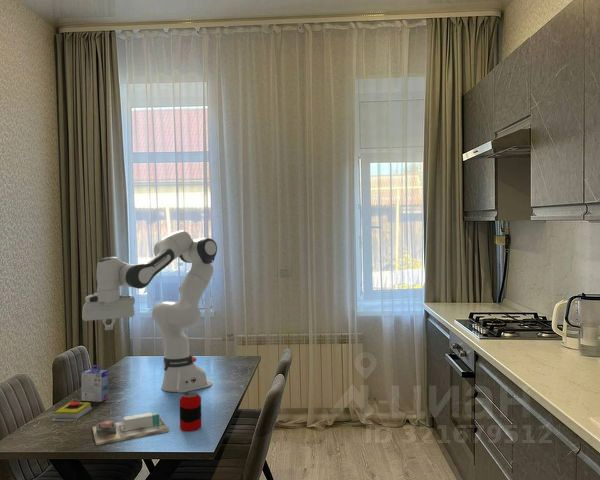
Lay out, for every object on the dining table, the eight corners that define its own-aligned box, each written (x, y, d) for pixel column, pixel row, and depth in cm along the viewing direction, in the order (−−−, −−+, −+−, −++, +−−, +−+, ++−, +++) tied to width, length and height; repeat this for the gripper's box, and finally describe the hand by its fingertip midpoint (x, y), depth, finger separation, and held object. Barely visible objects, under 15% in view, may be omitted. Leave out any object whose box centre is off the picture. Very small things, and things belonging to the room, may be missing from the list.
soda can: (190, 422, 190) (189, 390, 190) (205, 426, 186) (205, 393, 186) (175, 429, 184) (175, 396, 183) (191, 433, 180) (190, 399, 180)
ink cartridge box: (109, 398, 220) (108, 364, 219) (102, 402, 214) (101, 368, 214) (89, 396, 222) (88, 363, 221) (81, 401, 216) (80, 367, 216)
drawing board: (159, 417, 196) (159, 408, 196) (168, 431, 181) (168, 422, 181) (92, 429, 185) (92, 420, 185) (96, 445, 171) (96, 435, 170)
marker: (123, 426, 184) (123, 416, 184) (157, 420, 189) (157, 411, 189) (124, 430, 181) (124, 420, 181) (159, 424, 186) (159, 414, 186)
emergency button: (93, 398, 208) (74, 411, 193) (93, 408, 208) (74, 422, 193) (71, 397, 209) (50, 410, 194) (71, 408, 209) (50, 422, 194)
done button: (111, 428, 182) (111, 420, 182) (112, 432, 179) (112, 423, 179) (99, 430, 180) (99, 422, 180) (100, 434, 177) (100, 425, 177)
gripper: (133, 293, 218) (134, 326, 218) (81, 297, 209) (82, 330, 209) (135, 295, 212) (136, 328, 213) (82, 298, 203) (83, 333, 203)
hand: (109, 329), depth 211 cm, fingers closed
